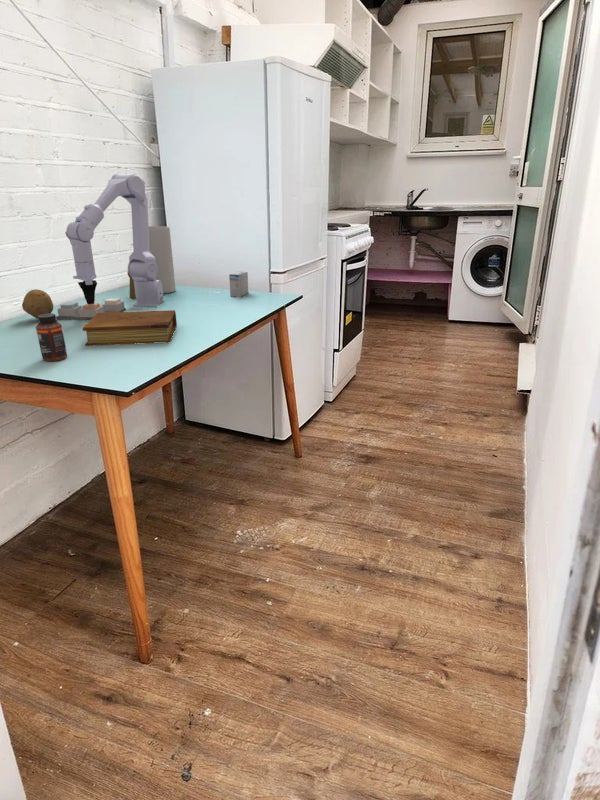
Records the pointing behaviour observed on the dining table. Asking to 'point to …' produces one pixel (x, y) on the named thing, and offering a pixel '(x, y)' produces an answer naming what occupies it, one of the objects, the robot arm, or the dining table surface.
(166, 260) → the tall grey block
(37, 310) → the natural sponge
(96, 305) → the button terracotta
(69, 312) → the board
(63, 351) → the supplement bottle
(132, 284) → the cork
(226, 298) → the dining table surface
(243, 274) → the medicine box
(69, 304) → the button slate
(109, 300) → the button cream
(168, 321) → the diary
